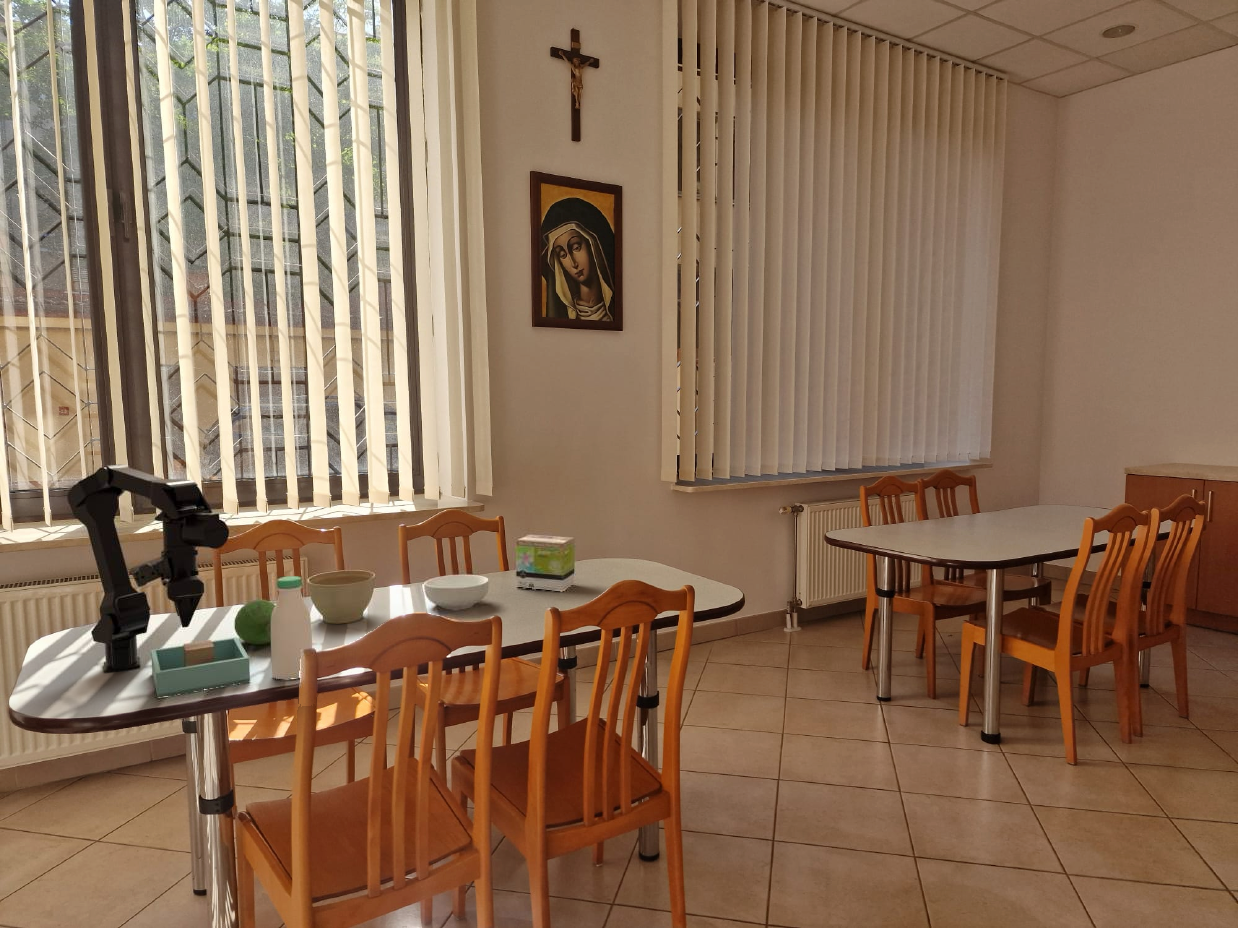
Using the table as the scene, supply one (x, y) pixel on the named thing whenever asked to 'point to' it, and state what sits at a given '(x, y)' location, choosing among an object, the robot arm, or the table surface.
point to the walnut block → (198, 653)
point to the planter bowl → (341, 594)
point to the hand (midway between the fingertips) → (182, 621)
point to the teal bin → (199, 669)
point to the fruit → (255, 622)
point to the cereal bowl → (456, 590)
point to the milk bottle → (289, 629)
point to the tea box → (545, 562)
